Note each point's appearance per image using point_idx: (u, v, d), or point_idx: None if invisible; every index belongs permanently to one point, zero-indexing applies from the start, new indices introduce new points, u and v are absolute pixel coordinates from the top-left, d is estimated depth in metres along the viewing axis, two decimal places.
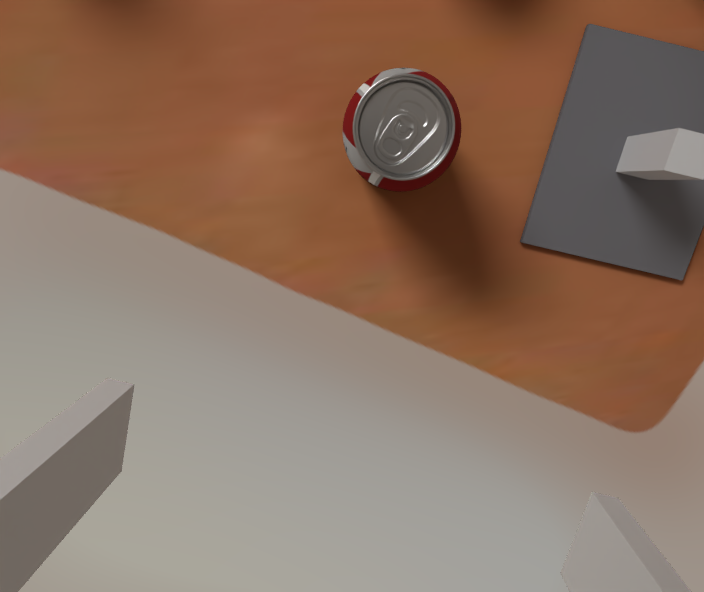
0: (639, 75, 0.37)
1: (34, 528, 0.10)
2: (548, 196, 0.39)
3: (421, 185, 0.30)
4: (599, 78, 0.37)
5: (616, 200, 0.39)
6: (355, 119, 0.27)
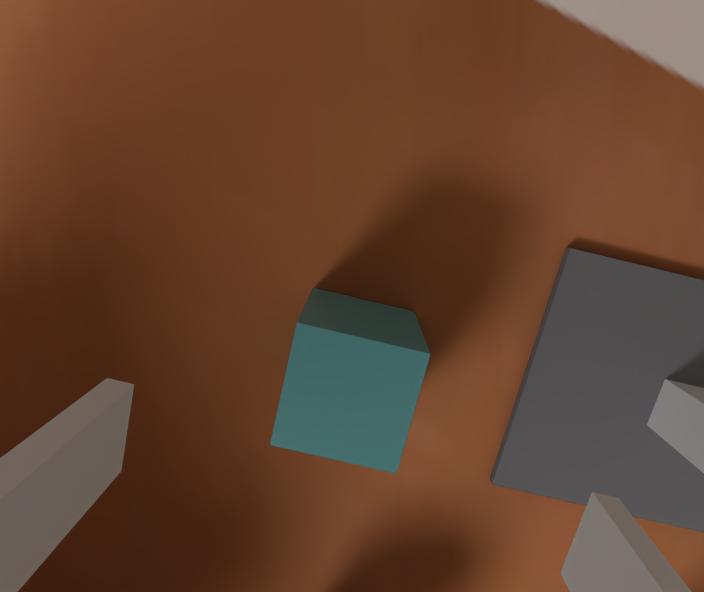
0: (564, 416, 0.26)
1: (34, 527, 0.10)
2: None
3: None
4: (563, 467, 0.27)
5: None
6: None
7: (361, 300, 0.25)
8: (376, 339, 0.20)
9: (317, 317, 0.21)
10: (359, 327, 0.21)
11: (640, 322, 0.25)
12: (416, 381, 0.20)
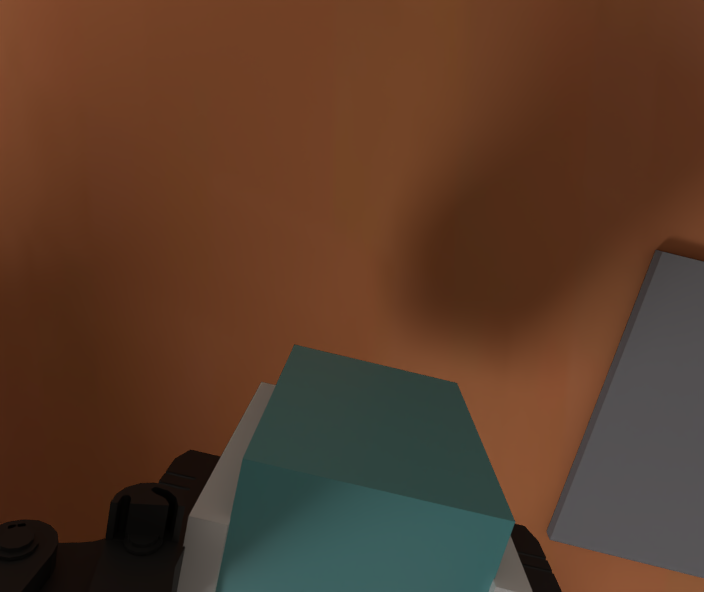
0: (644, 461, 0.21)
1: None
2: None
3: None
4: (640, 522, 0.22)
5: None
6: None
7: (372, 366, 0.16)
8: (404, 489, 0.10)
9: (289, 431, 0.11)
10: (369, 450, 0.11)
11: None
12: (484, 572, 0.10)
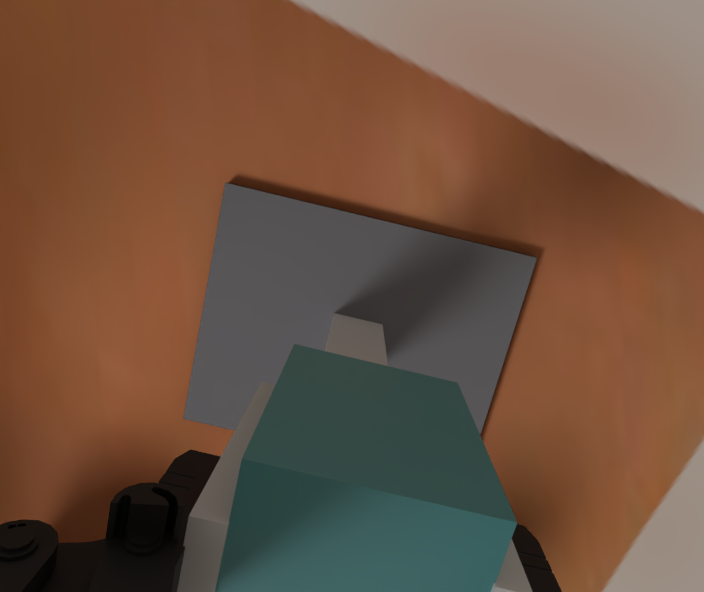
0: (243, 351, 0.27)
1: None
2: None
3: None
4: (248, 401, 0.28)
5: (410, 365, 0.27)
6: None
7: (372, 366, 0.15)
8: (405, 489, 0.10)
9: (289, 431, 0.11)
10: (370, 450, 0.11)
11: (302, 257, 0.26)
12: (486, 573, 0.10)
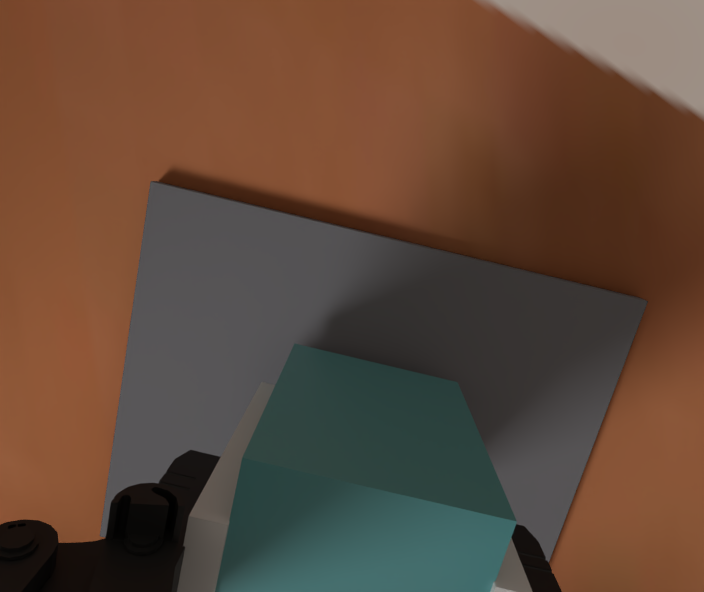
0: (186, 439, 0.18)
1: None
2: None
3: None
4: None
5: None
6: None
7: (372, 366, 0.15)
8: (405, 488, 0.10)
9: (289, 430, 0.11)
10: (370, 450, 0.11)
11: (275, 298, 0.16)
12: (485, 572, 0.10)
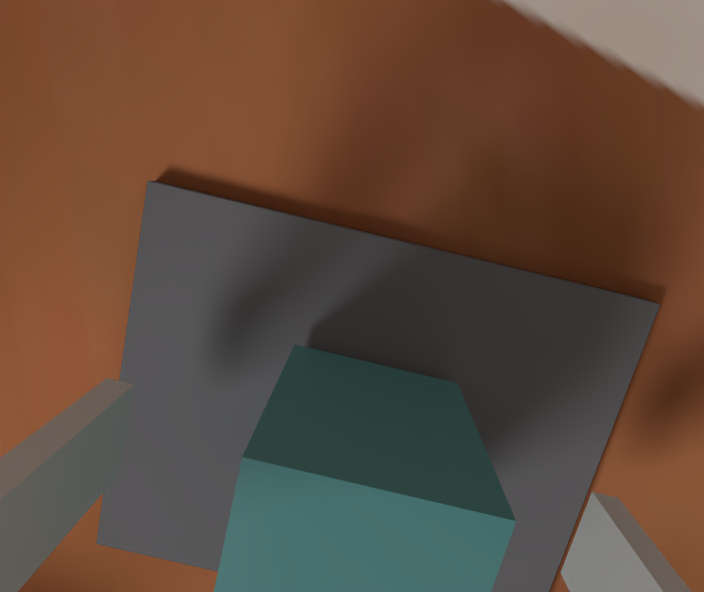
0: (184, 445, 0.17)
1: (34, 528, 0.10)
2: None
3: None
4: (195, 520, 0.18)
5: None
6: None
7: (372, 366, 0.15)
8: (404, 488, 0.10)
9: (289, 430, 0.11)
10: (370, 450, 0.11)
11: (276, 301, 0.16)
12: (485, 572, 0.10)
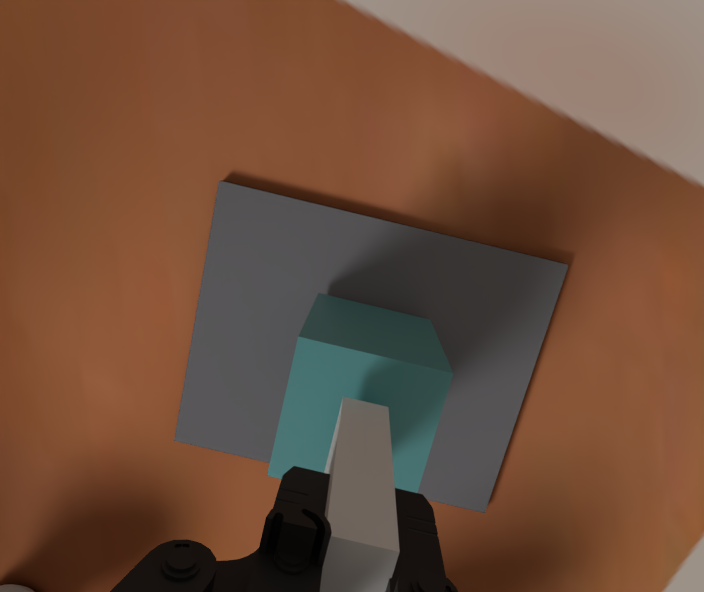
0: (239, 367, 0.24)
1: None
2: None
3: None
4: (245, 422, 0.25)
5: None
6: None
7: (371, 307, 0.23)
8: (390, 356, 0.17)
9: (322, 329, 0.18)
10: (370, 341, 0.18)
11: (305, 263, 0.23)
12: (436, 405, 0.17)
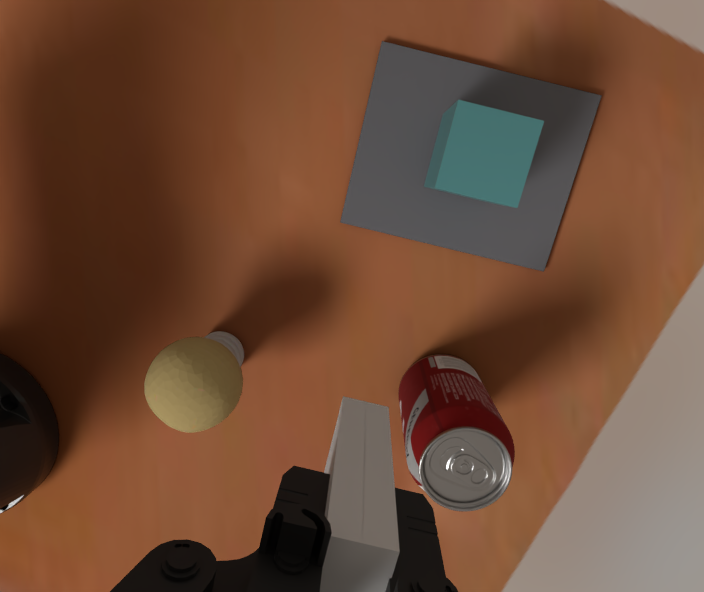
0: (386, 169, 0.38)
1: None
2: (498, 248, 0.39)
3: (511, 440, 0.32)
4: (388, 208, 0.38)
5: None
6: (455, 508, 0.31)
7: None
8: (508, 112, 0.30)
9: None
10: None
11: (433, 96, 0.37)
12: (534, 140, 0.30)
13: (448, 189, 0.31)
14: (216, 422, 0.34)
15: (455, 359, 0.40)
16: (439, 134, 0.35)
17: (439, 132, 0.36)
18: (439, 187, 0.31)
